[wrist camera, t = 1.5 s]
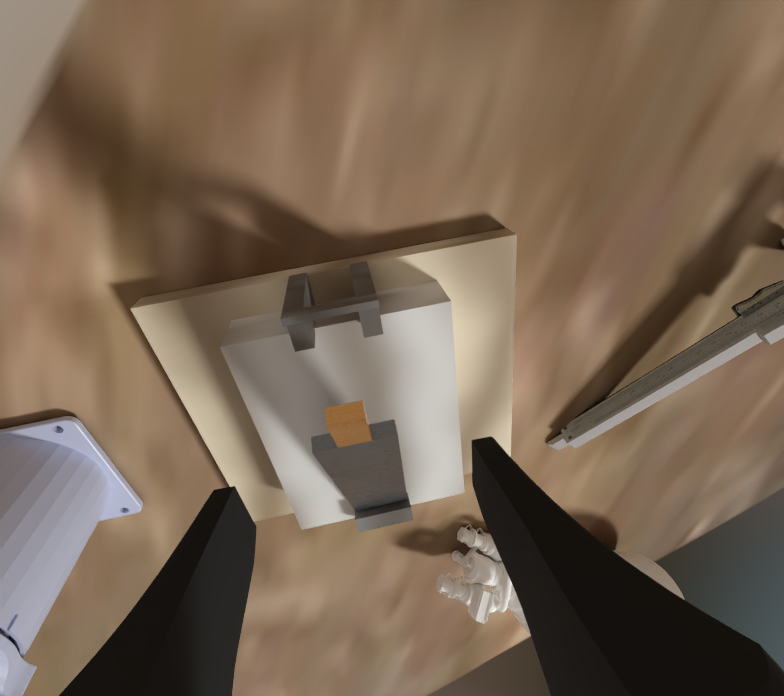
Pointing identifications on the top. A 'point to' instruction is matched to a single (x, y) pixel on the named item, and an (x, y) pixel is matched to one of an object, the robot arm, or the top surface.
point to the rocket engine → (497, 577)
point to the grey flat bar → (361, 457)
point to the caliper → (684, 366)
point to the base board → (220, 395)
